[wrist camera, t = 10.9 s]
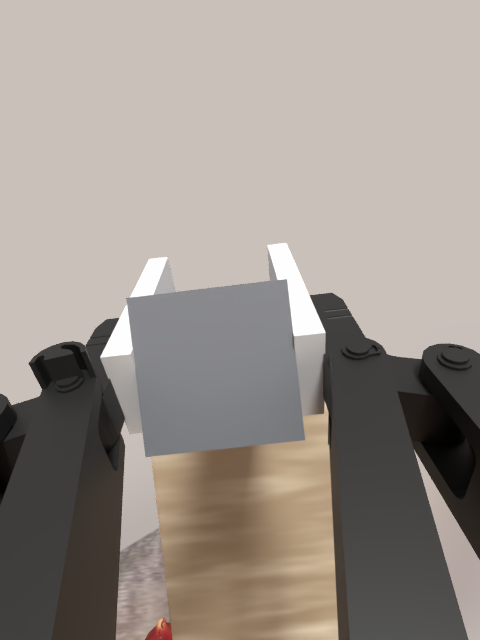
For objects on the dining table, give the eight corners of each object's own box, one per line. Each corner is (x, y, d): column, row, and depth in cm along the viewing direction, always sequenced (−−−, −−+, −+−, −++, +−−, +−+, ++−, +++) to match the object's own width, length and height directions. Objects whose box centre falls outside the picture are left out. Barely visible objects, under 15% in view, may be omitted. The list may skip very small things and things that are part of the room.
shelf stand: (216, 695, 43) (177, 357, 42) (350, 684, 43) (312, 342, 42) (200, 880, 29) (142, 379, 28) (399, 867, 29) (344, 357, 28)
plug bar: (223, 348, 36) (218, 309, 36) (263, 344, 36) (258, 304, 36) (145, 457, 9) (126, 297, 9) (305, 440, 9) (286, 279, 9)
